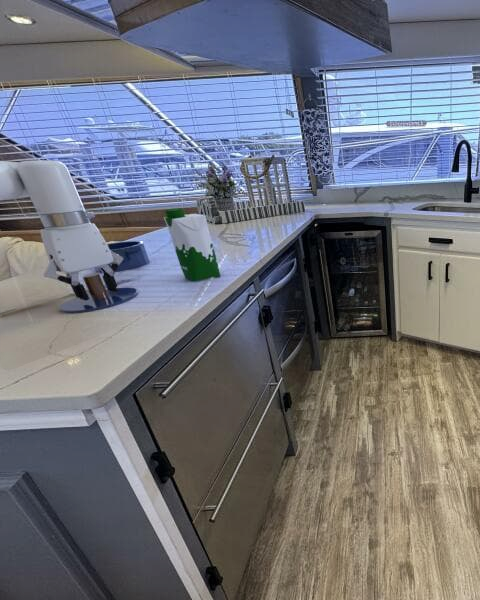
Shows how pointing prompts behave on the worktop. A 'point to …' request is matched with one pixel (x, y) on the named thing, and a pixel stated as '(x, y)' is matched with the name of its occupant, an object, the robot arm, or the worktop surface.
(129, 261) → the pot
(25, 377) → the worktop surface
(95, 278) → the plate lid
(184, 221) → the milk carton
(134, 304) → the worktop surface
